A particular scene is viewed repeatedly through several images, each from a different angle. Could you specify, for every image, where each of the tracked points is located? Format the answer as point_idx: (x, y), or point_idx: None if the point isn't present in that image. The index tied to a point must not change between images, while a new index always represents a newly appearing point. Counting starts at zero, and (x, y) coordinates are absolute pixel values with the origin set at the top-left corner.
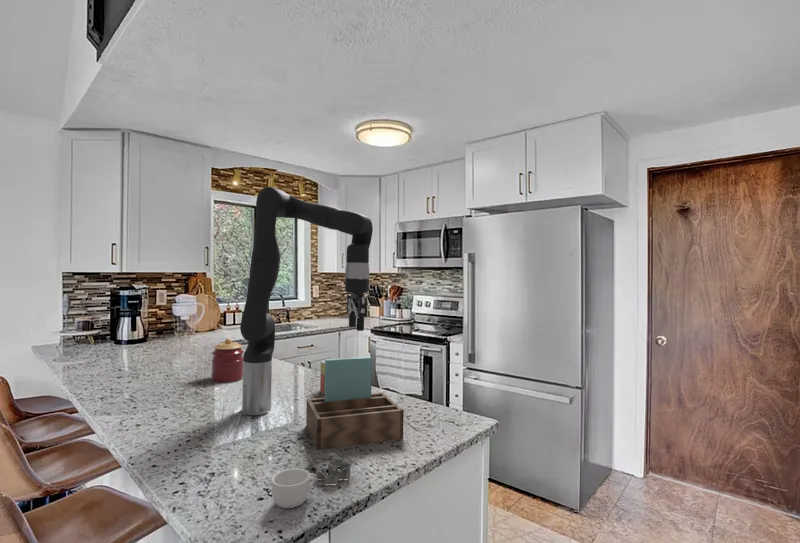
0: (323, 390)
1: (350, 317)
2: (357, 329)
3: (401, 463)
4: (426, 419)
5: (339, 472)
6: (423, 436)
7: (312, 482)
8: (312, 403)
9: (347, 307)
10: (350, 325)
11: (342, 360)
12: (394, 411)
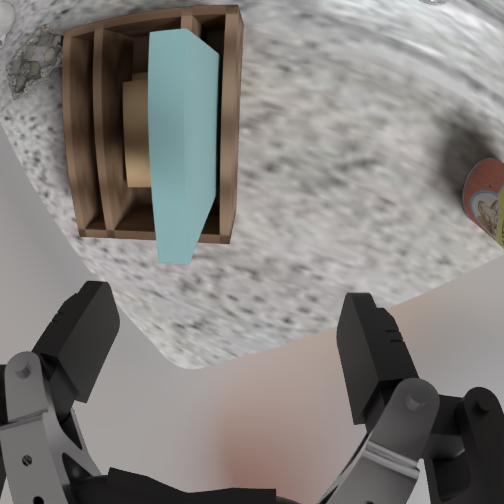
0: (488, 162)
1: (369, 370)
2: (88, 286)
3: (49, 178)
4: (222, 296)
5: (18, 78)
6: (138, 254)
7: (2, 44)
8: (186, 15)
9: (488, 445)
10: (348, 306)
11: (150, 115)
12: (76, 215)
